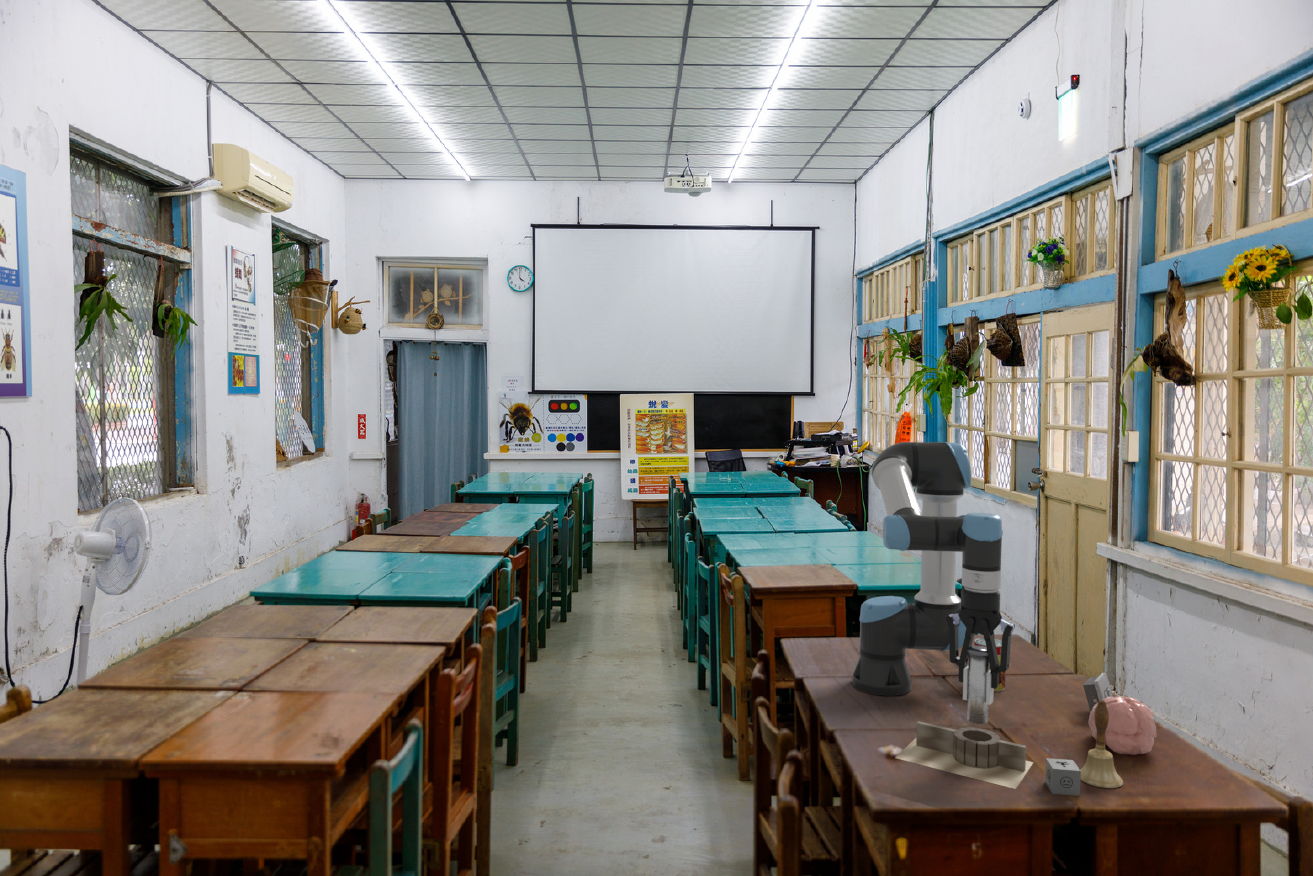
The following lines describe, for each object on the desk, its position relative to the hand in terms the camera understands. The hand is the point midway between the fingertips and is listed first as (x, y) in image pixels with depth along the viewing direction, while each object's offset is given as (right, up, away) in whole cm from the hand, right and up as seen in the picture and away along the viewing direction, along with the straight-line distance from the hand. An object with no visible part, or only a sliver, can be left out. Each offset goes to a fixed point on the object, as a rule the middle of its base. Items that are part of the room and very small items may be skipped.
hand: (978, 700), depth 180 cm
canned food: (+21, -12, +49) cm, 55 cm away
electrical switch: (+41, -13, +30) cm, 53 cm away
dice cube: (+13, -15, -10) cm, 22 cm away
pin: (0, -4, 0) cm, 4 cm away
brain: (+36, -14, +11) cm, 40 cm away
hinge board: (-3, -14, 0) cm, 14 cm away
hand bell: (+22, -14, -5) cm, 27 cm away
